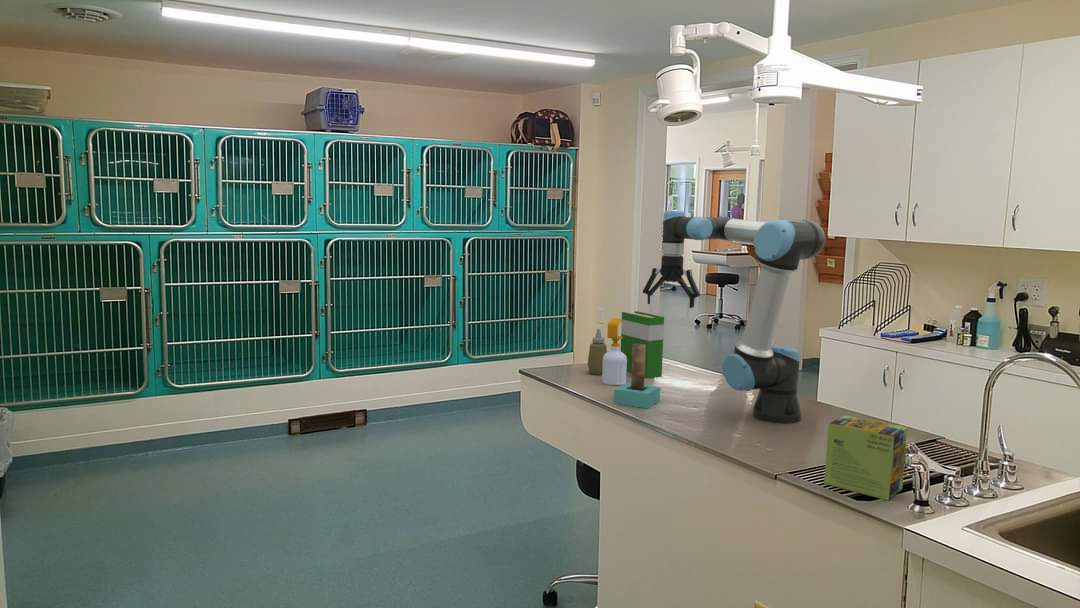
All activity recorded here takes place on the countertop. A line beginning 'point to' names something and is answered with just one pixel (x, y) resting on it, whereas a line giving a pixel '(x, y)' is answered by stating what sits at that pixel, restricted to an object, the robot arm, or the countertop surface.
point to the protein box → (865, 456)
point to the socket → (637, 396)
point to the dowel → (638, 367)
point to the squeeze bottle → (596, 354)
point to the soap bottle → (614, 358)
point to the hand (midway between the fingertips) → (670, 315)
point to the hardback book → (643, 340)
